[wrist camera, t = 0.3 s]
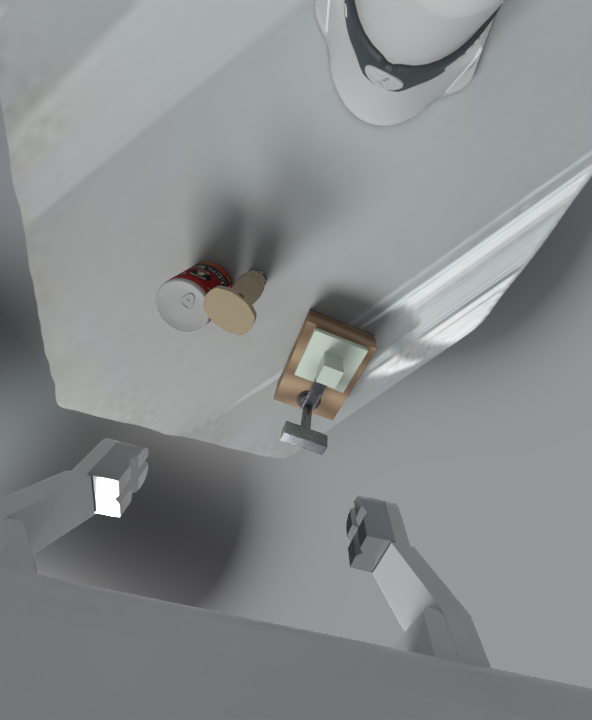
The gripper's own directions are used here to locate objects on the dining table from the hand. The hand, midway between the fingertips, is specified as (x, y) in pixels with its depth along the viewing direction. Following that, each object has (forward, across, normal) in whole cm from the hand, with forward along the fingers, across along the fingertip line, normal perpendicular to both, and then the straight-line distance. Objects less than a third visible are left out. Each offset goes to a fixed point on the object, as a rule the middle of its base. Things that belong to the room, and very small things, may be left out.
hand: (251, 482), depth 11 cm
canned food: (+41, +15, +4) cm, 43 cm away
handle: (+40, +8, 0) cm, 41 cm away
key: (+36, -6, +17) cm, 40 cm away
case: (+41, -7, +13) cm, 43 cm away
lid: (+36, -7, +10) cm, 38 cm away
